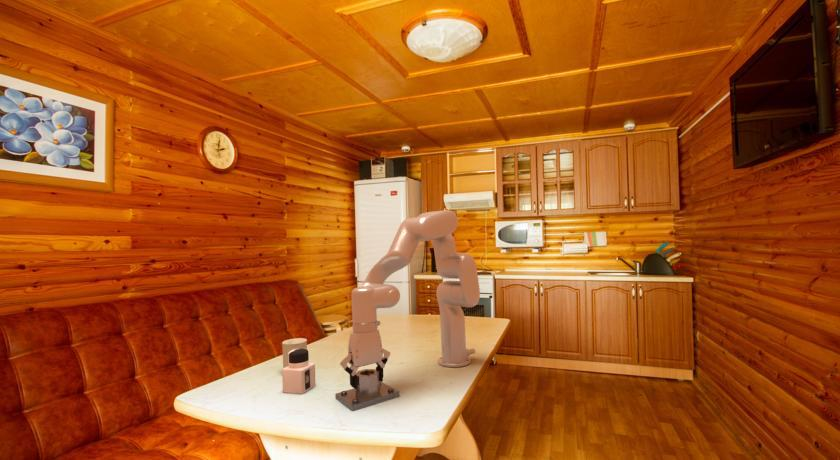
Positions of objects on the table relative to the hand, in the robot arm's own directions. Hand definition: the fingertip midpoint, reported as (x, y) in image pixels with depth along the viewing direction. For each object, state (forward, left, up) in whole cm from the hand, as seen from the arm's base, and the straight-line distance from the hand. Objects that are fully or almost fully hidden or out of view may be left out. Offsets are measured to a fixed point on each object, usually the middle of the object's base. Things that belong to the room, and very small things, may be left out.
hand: (367, 383), depth 120 cm
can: (+9, -42, -4) cm, 43 cm away
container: (+14, -22, -4) cm, 26 cm away
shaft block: (0, 0, -4) cm, 4 cm away
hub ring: (0, 0, -3) cm, 3 cm away
